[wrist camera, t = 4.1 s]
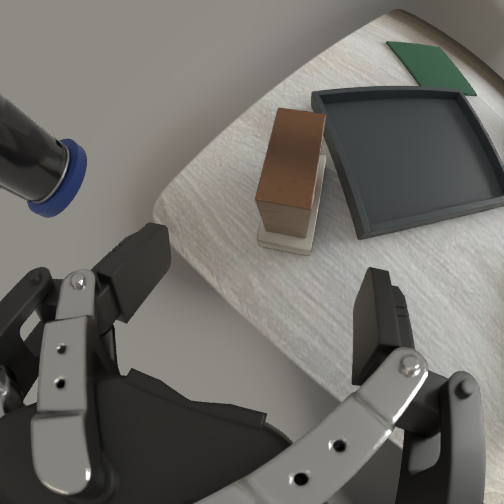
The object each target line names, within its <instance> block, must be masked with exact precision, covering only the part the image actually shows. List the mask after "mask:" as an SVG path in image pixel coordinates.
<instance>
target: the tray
mask: <svg viewBox="0 0 504 504" xmlns="http://www.w3.org/2000/svg"><path fill="white" fill-rule="evenodd" d="M311 107H312V109H313V111H314V113H319V114H325V115H326V119H325V127H324V134H323V136H324V138H325V141H326V143H327V146H328V149H329V151H330V154H331V157H332V159H333V162H334V165H335V168H336V170H337V173H338V176H339V179H340V182H341V185H342V188H343V191H344V194H345V197H346V200H347V203H348V207H349V210H350V213H351V216H352V220H353V223H354V227H355V230H356V234H357V237H358V240H362V239H366V238H371V237H375V236H379V235H384V234H388V233H392V232H397V231H401V230H405V229H410V228H414V227H418V226H423V225H427V224H431V223H435V222H440V221H444V220H448V219H452V218H456V217H461V216H465V215H469V214H473V213H477V212H481V211H485V210H489V209H493V208H497V207H501V206H504V165H503V163H502V161H501V159H500V157H499V155H498V153H497V151H496V149H495V147H494V145H493V143H492V141H491V139H490V137H489V135H488V133H487V132H486V130H485V128H484V126H483V124H482V123H481V121H480V119H479V118H478V116H477V114H476V113H475V111H474V110H473V108H472V106H471V105H470V103H469V102H468V100H467V99H466V97H465V96H464V94H463V93H462V91H461V90H460V89H454V88H442V87H425V86H372V87H354V88H342V89H331V90H322V91H318V92H317V91H314V92H312V93H311Z"/></svg>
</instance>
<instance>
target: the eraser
mask: <svg viewBox="0 0 504 504" xmlns="http://www.w3.org/2000/svg"><path fill="white" fill-rule="evenodd" d="M325 119H326V115H325V114H319V113H313V112H307V111H300V110H293V109H285V108H278V110H277V114H276V118H275V121H274V125H273V129H272V133H271V137H270V141H269V145H268V149H267V153H266V157H265V161H264V165H263V169H262V173H261V177H260V181H259V185H258V189H257V193H256V197H255V201H256V204H257V207H258V210H259V213H260V216H261V222H260V226H259V231H258V235H257V242H258V244H259V246H262V247H267V248H272V249H277V250H282V251H287V252H292V253H297V254H302V255H307V256H309V255H310V252H311V247H312V242H313V237H314V231H315V226H316V220H317V214H318V208H319V202H320V196H321V189H322V183H323V176H324V169H325V162H326V155H321V149H322V141H323V134H324V127H325Z"/></svg>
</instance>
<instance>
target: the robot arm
mask: <svg viewBox="0 0 504 504" xmlns="http://www.w3.org/2000/svg"><path fill="white" fill-rule="evenodd" d="M70 164H71V152H70V149H69V148H68V147H67V146H65V145H64V144H62V143H60V142H59V140H58V139H55V138H54V137H53V136H52V135H51V134H49V133H48V132H47V131H46V130H44V129H43V128H42V127H41V126H39V125H38V124H37V123H36V122H35V121H33V120H32V119H31V118H30V117H28V116H27V115H26V114H25V113H24V112H22V111H21V110H20V109H19V108H17V107H16V106H15V105H14V104H13V103H12V102H10V101H9V100H8V99H7V98H5V97H4V96H3V95H2V94H1V93H0V188H3V189H4V190H7V191H8V192H10V193H12V194H14V195H16V196H18V197H20V198H22V199H24V200H26V201H28V202H31V201H32V202H34V203H36V204H44V203H46V202H47V201H49V200H50V199H51V198H52V197H53V196H54V195H55V194H56V193H57V192H58V190H59V189H60V187H61V186H62V184H63V182H64V180H65V178H66V176H67V174H68V171H69V168H70ZM170 264H171V251H170V242H169V233H168V228H167V227H166V226H165V225H160V224H155V223H148V224H146V225H145V226H144V227H143V228H142V229H141V230H140V231H138V232H136V233H134V234H132V235H130V236H128V237H126V238H125V239H124V240H123V241H121V243H119V245H118V246H116V247H115V248H114V249H113V250H112V251H111V252H109V253H108V254H107V255H106V256H105V257H104V258H103V259H102V260H101V261H100V262H99V263H98V264H96V265H95V266H94V267H93V269H91V270H86V269H80V270H76V271H74V272H72V273H70V274H69V275H68V276H66V277H65V278H64V280H63V279H52V277H51V274H50V271H49V270H48V269H47V268H45V267H40V268H36V269H33V270H31V271H30V272H29V273H27V274H26V275H25V276H24V277H23V278H22V279H21V280H20V281H19V283H17V285H15V286H14V287H13V289H12V290H11V291H10V292H9V293H8V294H7V295H6V296H5V297H4V298H3V299H2V300H1V301H0V504H328V502H327V500H328V499H329V498H330V497H331V496H332V495H333V494H335V493H336V492H337V491H338V490H339V489H340V488H341V487H342V486H343V485H344V484H345V483H346V482H347V481H348V480H350V478H352V477H353V476H354V475H355V474H356V473H357V472H358V471H359V469H360V468H361V467H362V466H363V465H364V464H365V463H366V462H367V461H368V460H369V459H370V458H371V457H372V455H373V454H374V453H375V452H376V451H377V450H378V448H379V447H380V446H381V445H382V444H383V443H384V442H385V440H386V439H387V438H388V437H389V436H390V434H391V433H392V431H393V430H394V428H395V426H396V427H399V428H401V429H404V443H403V454H402V463H401V471H400V478H399V485H398V491H397V496H396V501H395V504H483V499H484V488H485V431H484V419H483V409H482V401H481V394H480V388H479V385H478V383H477V381H476V380H475V378H474V377H473V376H472V375H470V374H469V373H467V372H464V371H458V372H455V373H454V374H453V375H452V376H451V377H450V378H449V379H448V378H445V377H443V376H441V375H438V374H436V373H434V372H431V371H430V370H428V365H427V362H426V360H425V359H424V357H423V356H422V355H421V354H420V353H419V352H418V351H416V350H415V346H414V340H413V334H412V329H411V324H410V319H409V314H408V310H407V304H406V300H405V296H404V295H403V293H402V292H401V291H400V289H399V288H398V287H397V286H392V285H391V280H390V276H389V272H388V271H386V270H381V269H376V268H372V267H369V268H368V270H367V272H366V274H365V277H364V280H363V282H362V285H361V287H360V290H359V292H358V295H357V297H356V300H355V304H354V310H353V365H352V385H358V386H361V387H360V388H359V389H358V390H357V391H356V392H353V393H351V394H350V395H349V396H348V397H347V398H346V399H345V400H344V401H343V402H342V403H341V404H340V405H338V406H337V407H336V408H335V409H334V410H333V411H332V412H331V413H330V414H328V415H327V416H326V417H325V418H324V419H323V420H322V421H320V422H319V423H318V424H317V425H316V426H315V427H313V428H312V429H311V430H310V431H309V432H307V433H306V434H305V435H304V436H302V437H301V438H300V439H299V440H297V441H296V442H295V443H293V442H292V441H291V440H290V439H289V438H288V437H287V436H286V435H285V434H284V433H283V432H281V431H280V430H279V429H277V428H275V427H274V426H272V425H270V424H268V423H266V422H265V420H266V416H267V413H263V412H259V411H254V410H251V409H246V408H243V407H239V406H236V405H232V404H221V403H207V402H197V401H191V400H189V399H187V398H185V397H184V396H182V395H181V394H179V393H178V392H176V391H175V390H174V389H172V388H171V387H169V386H168V385H166V384H165V383H164V382H162V381H161V380H159V379H156V378H153V377H151V376H149V375H146V374H144V373H142V372H140V371H137V370H135V369H133V368H131V370H130V372H129V373H128V375H127V376H122V375H120V372H119V369H118V364H117V355H116V342H115V328H114V325H113V323H114V322H115V320H119V321H121V322H124V323H128V321H129V320H130V318H131V317H132V316H133V315H134V313H135V312H136V311H137V309H138V308H139V307H140V305H141V304H142V303H143V302H144V300H145V299H146V298H147V296H148V295H149V294H150V293H151V291H152V290H153V289H154V287H155V286H156V285H157V284H158V282H159V281H160V280H161V279H162V277H163V276H164V275H165V274H166V272H167V271H168V269H169V267H170ZM34 310H35V311H36V313H37V315H38V316H39V318H40V320H41V321H40V322H39V323H38V324H37V326H36V327H35V328H34V329H33V331H32V332H31V333H30V334H29V336H28V337H27V339H26V340H25V341H23V340H22V338H21V336H20V328H21V326H22V325H23V323H24V322H25V321H26V320H27V318H28V317H29V316H30V315H31V314H32V312H33V311H34ZM37 377H38V393H37V396H38V397H37V402H36V403H34V404H31V405H28V406H26V405H25V404H24V403H23V400H24V398H25V396H26V395H27V393H28V392H29V390H30V388H31V387H32V385H33V384H34V382H35V380H36V379H37Z"/></svg>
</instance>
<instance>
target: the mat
mask: <svg viewBox="0 0 504 504" xmlns="http://www.w3.org/2000/svg"><path fill="white" fill-rule="evenodd" d="M386 43H387V45H388V46H389V47H390V48H391V49H392V50H393V52H394V53H395V54H396V55H397V57H398V58H399V59H400V60H401V62H402V63H403V64H404V65H405V67H406V68H407V69H408V71H409V72H410V73H411V75H412V76H413V78H414V79H415V80H416V82H417V83H418V85H419V86H425V87H442V88H454V89H460V90H461V91H462V93H463V94H464V95H470V96H476V95H477V94H476V92H475V91H474V90H473V88H472V87H471V85H470V84H469V83H468V81H467V80H466V79H465V77H464V76H463V75H462V73H461V72H460V71H459V70H458V68H457V67H456V66H455V65H454V63H453V62H452V61H451V60H450V59H449V57H448V56H447V55H446V54H445V53H444V52H443V50H442V49H441V48H440V47H435V46H429V45H421V44H413V43H403V42H390V41H387V42H386Z"/></svg>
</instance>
